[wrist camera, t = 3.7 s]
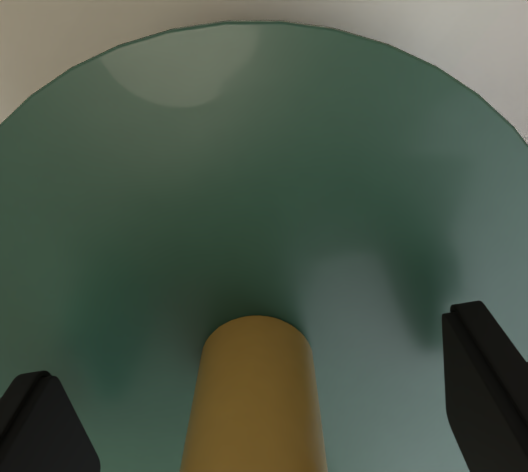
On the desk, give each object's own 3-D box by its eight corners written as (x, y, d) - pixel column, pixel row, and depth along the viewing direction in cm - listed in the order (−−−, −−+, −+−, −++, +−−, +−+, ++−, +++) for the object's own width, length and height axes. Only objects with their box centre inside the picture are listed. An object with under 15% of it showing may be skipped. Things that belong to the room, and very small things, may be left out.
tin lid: (577, -63, 8) (1121, -178, 3) (537, 482, 14) (693, 757, 9) (-163, 103, 10) (-687, 225, 4) (89, 537, 16) (0, 807, 11)
